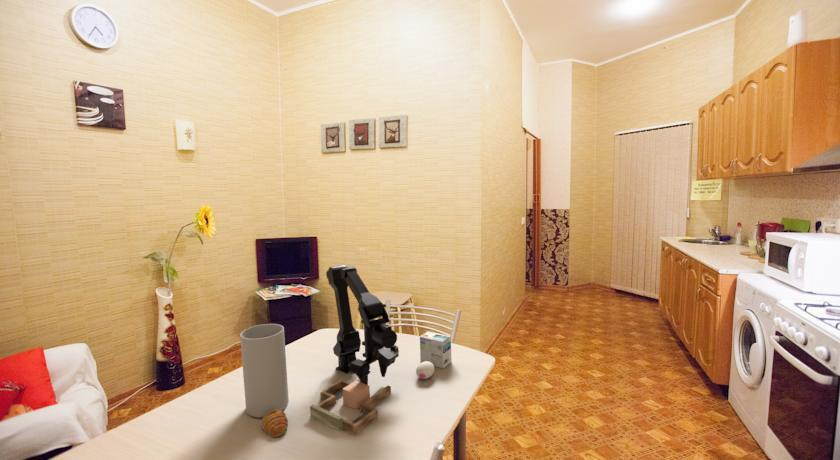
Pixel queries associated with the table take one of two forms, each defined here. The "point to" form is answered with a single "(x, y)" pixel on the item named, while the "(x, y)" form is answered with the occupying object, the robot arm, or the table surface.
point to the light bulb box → (435, 349)
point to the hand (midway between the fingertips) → (374, 382)
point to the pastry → (275, 423)
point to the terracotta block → (355, 394)
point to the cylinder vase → (264, 369)
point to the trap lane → (338, 422)
